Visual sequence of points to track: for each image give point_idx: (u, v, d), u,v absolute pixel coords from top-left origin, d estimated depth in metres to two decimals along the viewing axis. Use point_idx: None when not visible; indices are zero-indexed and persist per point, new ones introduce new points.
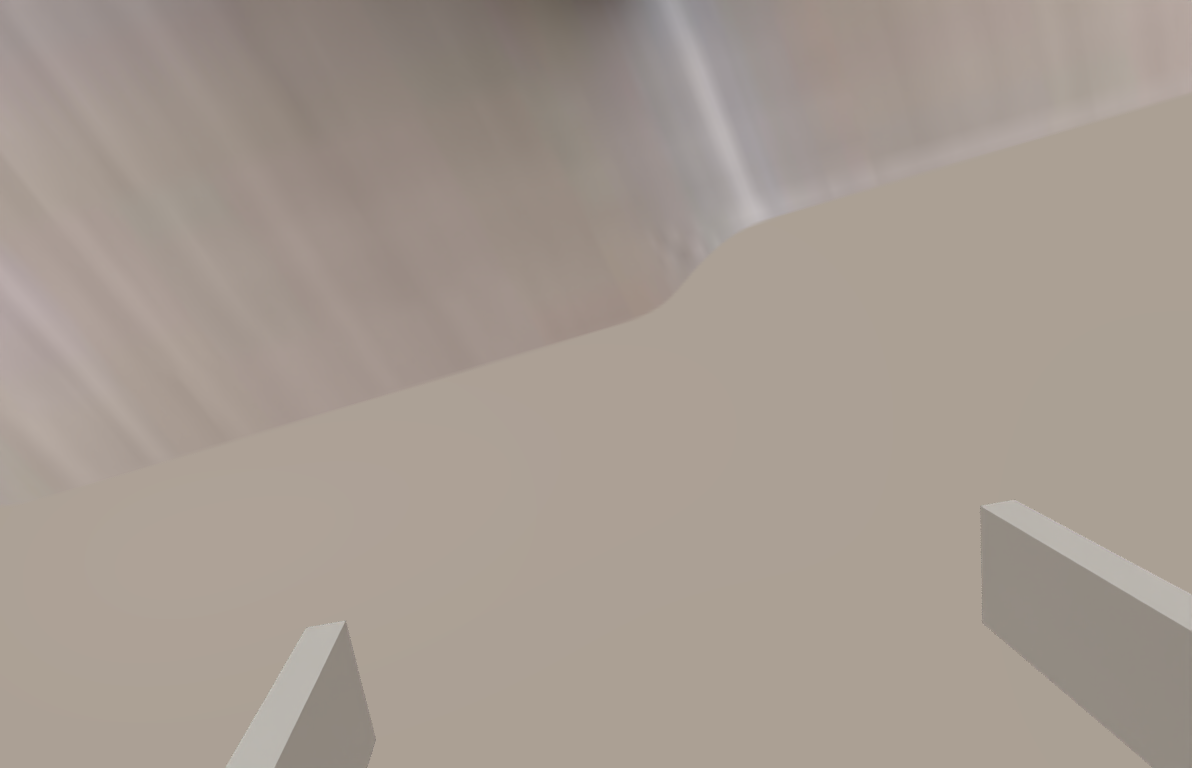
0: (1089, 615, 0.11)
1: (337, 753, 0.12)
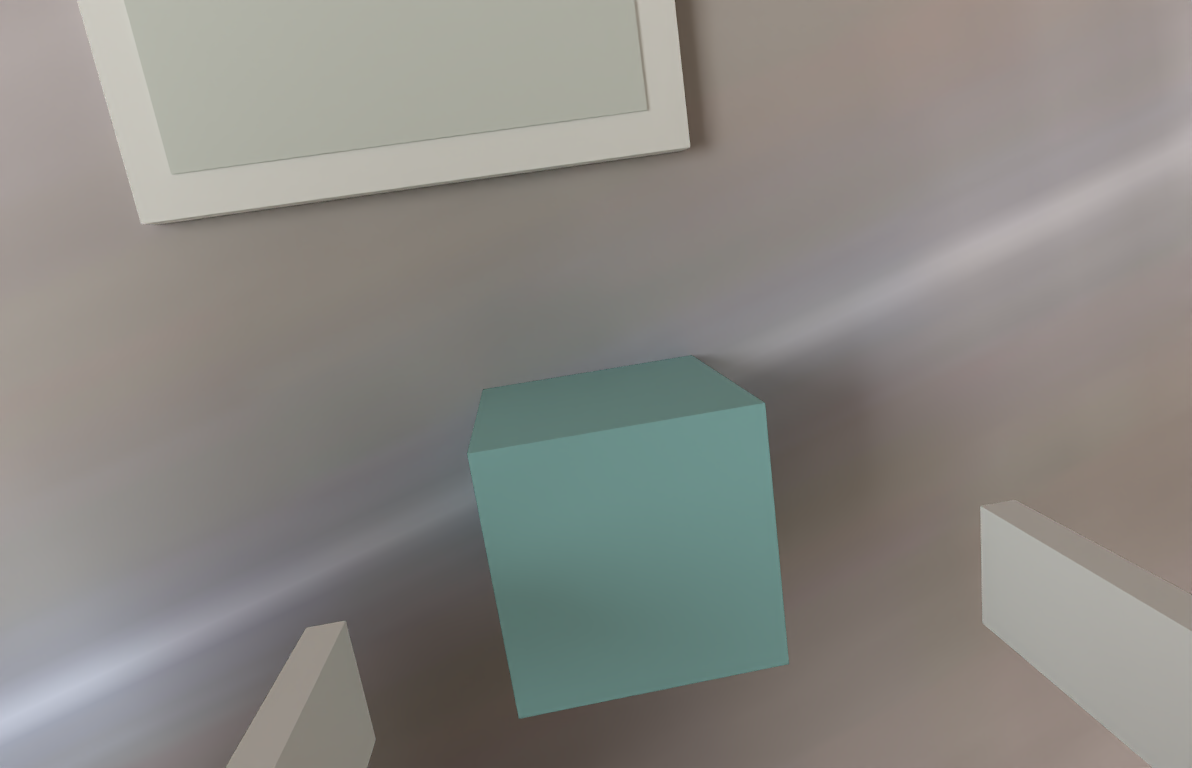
0: (1090, 615, 0.11)
1: (337, 753, 0.12)
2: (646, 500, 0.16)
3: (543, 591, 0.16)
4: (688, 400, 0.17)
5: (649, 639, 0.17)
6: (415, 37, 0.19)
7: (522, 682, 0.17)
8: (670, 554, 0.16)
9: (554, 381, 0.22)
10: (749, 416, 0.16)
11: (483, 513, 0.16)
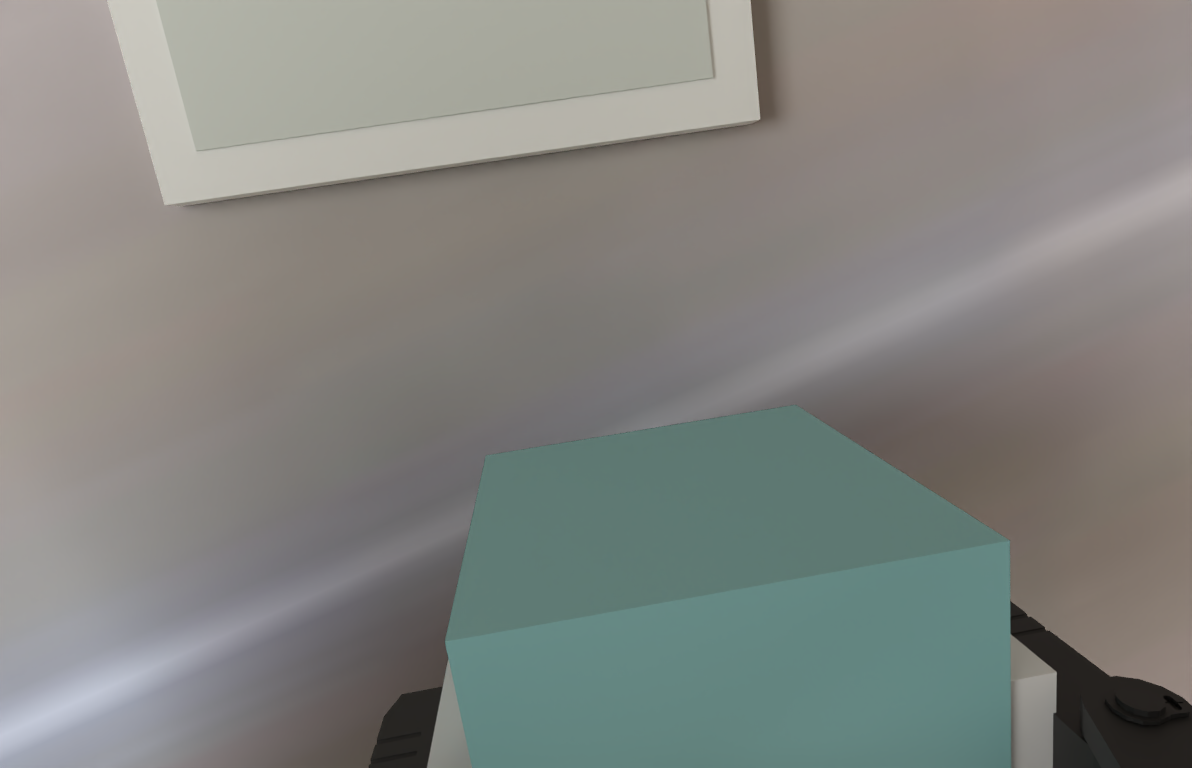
0: None
1: None
2: (779, 716, 0.09)
3: None
4: (843, 517, 0.10)
5: None
6: None
7: None
8: None
9: (593, 447, 0.14)
10: (979, 565, 0.08)
11: (476, 746, 0.08)
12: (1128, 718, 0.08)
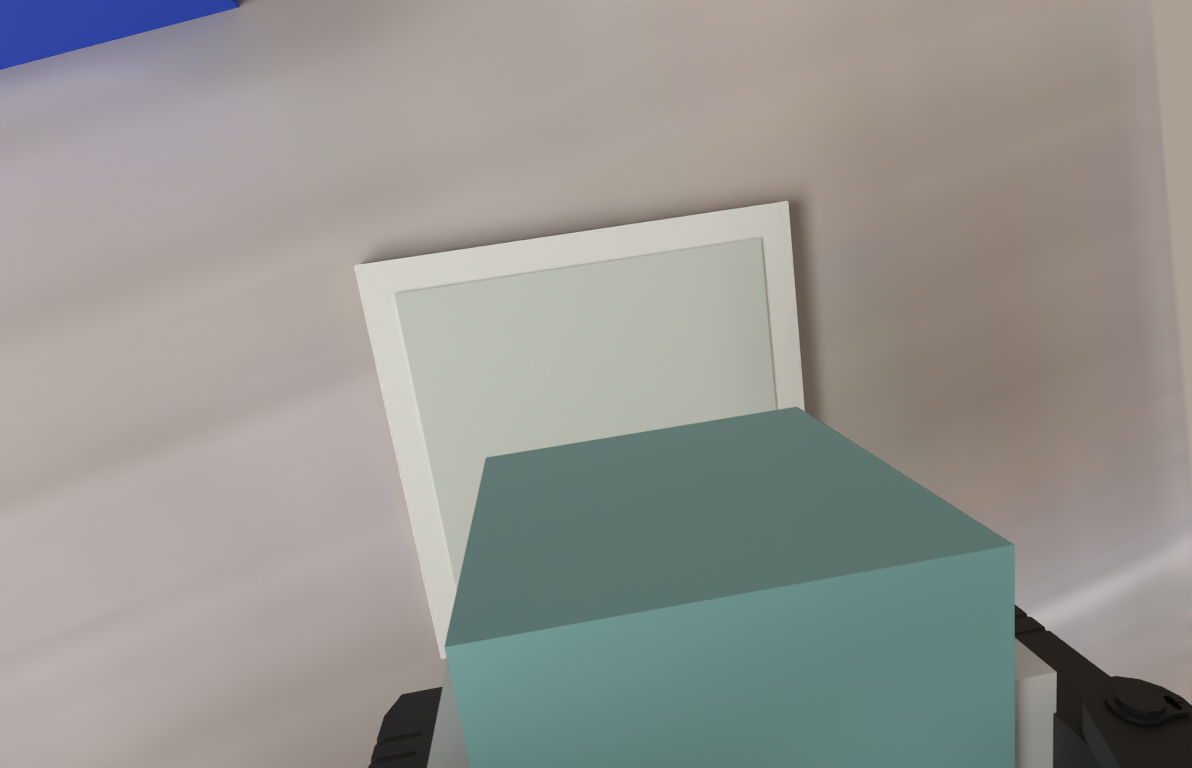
0: None
1: None
2: (781, 722, 0.09)
3: None
4: (846, 521, 0.09)
5: None
6: None
7: None
8: None
9: (593, 449, 0.14)
10: (983, 570, 0.08)
11: (476, 752, 0.08)
12: (1128, 718, 0.08)
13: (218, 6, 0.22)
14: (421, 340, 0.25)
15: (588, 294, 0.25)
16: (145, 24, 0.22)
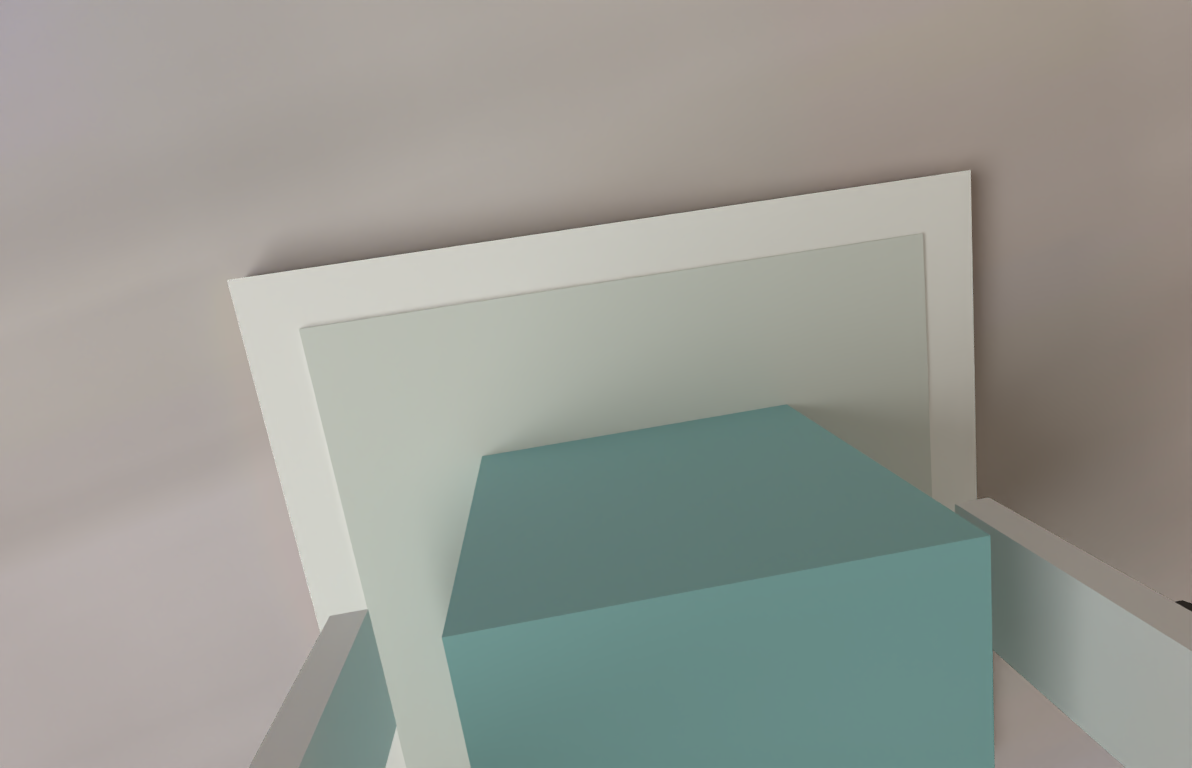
0: (1055, 609, 0.11)
1: (362, 737, 0.12)
2: (768, 708, 0.09)
3: None
4: (830, 514, 0.10)
5: None
6: None
7: None
8: None
9: (587, 447, 0.14)
10: (961, 559, 0.09)
11: (473, 739, 0.09)
12: None
13: None
14: (348, 407, 0.15)
15: (633, 328, 0.15)
16: None
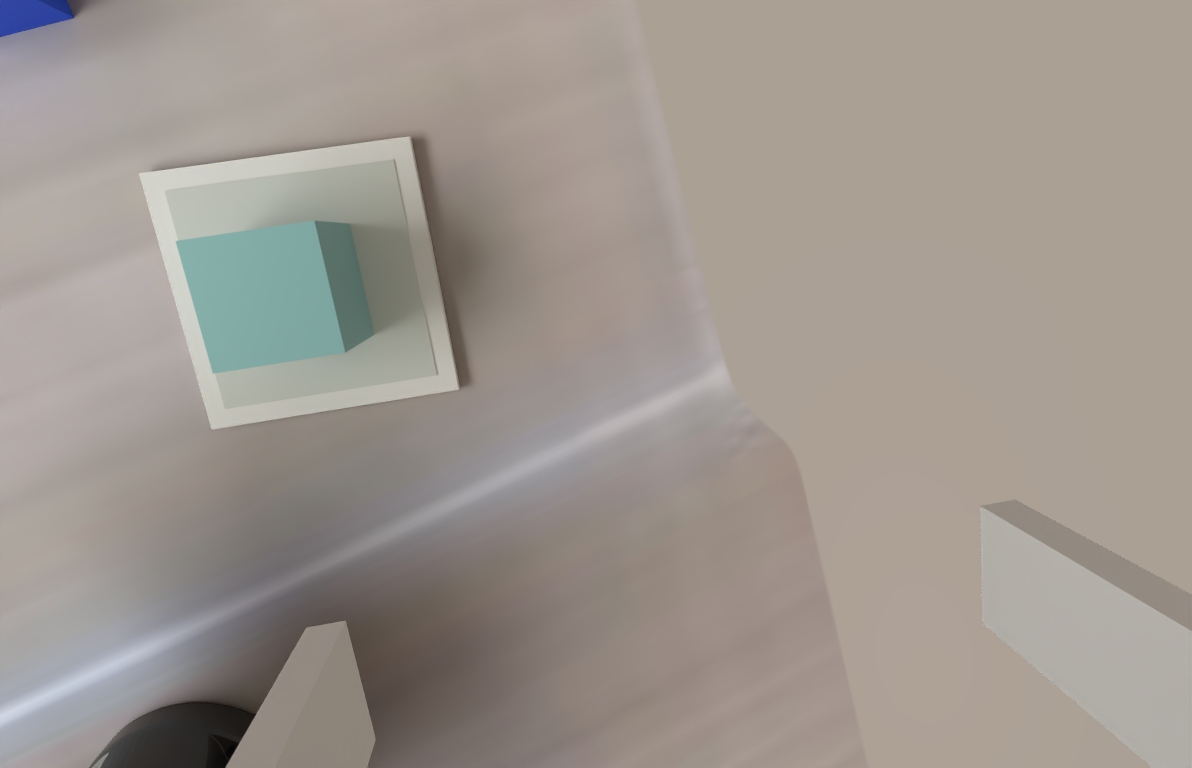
0: (1089, 615, 0.11)
1: (337, 753, 0.12)
2: (262, 266, 0.35)
3: (218, 309, 0.35)
4: None
5: (272, 336, 0.36)
6: None
7: (212, 354, 0.36)
8: (277, 293, 0.35)
9: None
10: (307, 226, 0.35)
11: (186, 269, 0.35)
12: None
13: (59, 17, 0.38)
14: (183, 220, 0.41)
15: (286, 193, 0.41)
16: (16, 27, 0.38)
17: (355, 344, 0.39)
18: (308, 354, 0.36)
